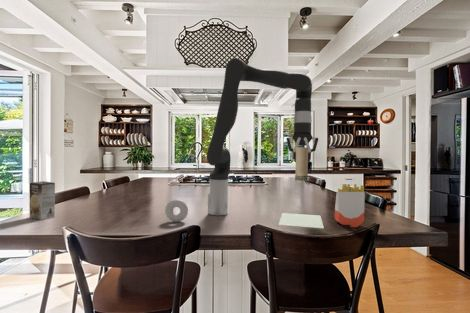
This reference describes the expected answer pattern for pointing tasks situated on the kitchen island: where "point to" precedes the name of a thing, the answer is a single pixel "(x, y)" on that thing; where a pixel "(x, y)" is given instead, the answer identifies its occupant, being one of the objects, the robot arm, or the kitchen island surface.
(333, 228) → the kitchen island surface
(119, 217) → the kitchen island surface
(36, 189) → the coffee box
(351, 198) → the french fries container
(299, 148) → the maple block
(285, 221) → the sage mat
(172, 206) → the donut
